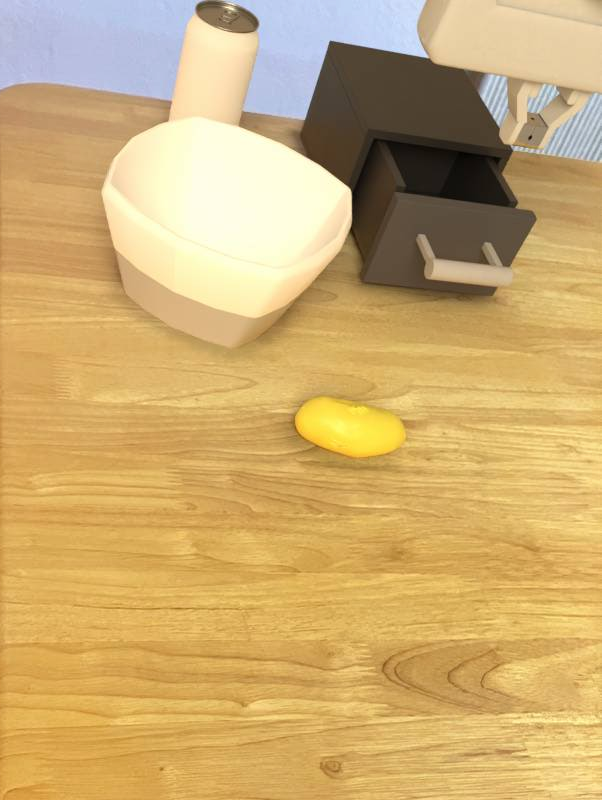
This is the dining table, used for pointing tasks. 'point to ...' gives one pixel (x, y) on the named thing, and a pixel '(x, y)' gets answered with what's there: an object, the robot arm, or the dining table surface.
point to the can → (216, 62)
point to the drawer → (436, 219)
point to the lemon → (349, 427)
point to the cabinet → (393, 109)
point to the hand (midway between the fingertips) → (519, 143)
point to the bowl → (220, 226)
